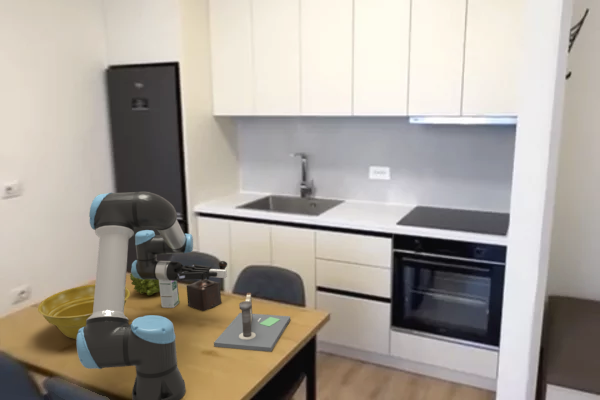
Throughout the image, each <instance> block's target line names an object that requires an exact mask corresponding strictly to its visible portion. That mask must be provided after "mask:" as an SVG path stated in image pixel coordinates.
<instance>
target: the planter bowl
mask: <svg viewBox="0 0 600 400" xmlns="http://www.w3.org/2000/svg"><path fill="white" fill-rule="evenodd" d="M94 294H95V284H93V283H92V284H87V285H81V286H77V287H73V288H72V287H71V288H69V289H65V290H61V291H59V292H57V293H54V294H52V295H50V296H49V297H46V298H45V299H44V300H42V301H41V302H40V303H39V304H38V306H37V312H38V313H39V314H40V315H42V316H43V318H44V319H45V320H46V321H47V322H48V323H49V324H50V325H53V326H56V328H57V329H58V330H59V331H60V332H61V333H62V334H63V335H64V336H66V337H68V338H70V339H73V340H77V334H78V331H79V329H80V328H82V327H86V320H87V319H88V318H89V317H90V316H91V315H92V314H93V305H94ZM130 295H131V292H130V290H129V288H127V287H125V300H124V306H125V304H126V302H127V300H128V299H129V297H130Z"/></svg>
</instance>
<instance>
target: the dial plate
mask: <svg viewBox="0 0 600 400" xmlns="http://www.w3.org/2000/svg"><path fill="white" fill-rule="evenodd" d="M290 321H291V316H290V315H276V314H264V313H263V314H262V313H252V322H251V336H250V337H244V336H243V325H242V312H239V313H238V315H236V317H235V318H234V319H233V320H232V321H231V322H230V324H228V326H227V327H226V328H225V329H224V330H223V332H221V334H220V335H219V336H218V337H217V338H216V339H215V341H213V347H215V348H224V349H225V348H226V349H236V350H238V349H239V350H249V351H259V352H272V351H273V349H274V348H275V346H276V345H277V344H278V343H277V342H278V341H279V339H280V338H281V336H282V335H283V332H284V331H285V330H286V328H287V326H288V325H289V323H290Z"/></svg>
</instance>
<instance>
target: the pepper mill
mask: <svg viewBox="0 0 600 400" xmlns="http://www.w3.org/2000/svg"><path fill="white" fill-rule="evenodd" d="M217 266H218V267H219V270H226V267H228V262H227V261H225V260H220V261H219V262H218V264H217ZM186 295H187V297H186V298H187V306H188V307H190V308H192V309H196V310H198V311H201V312H206V311H208V310H211V309H213V308H215V307H217V306H219V305H221V304H222V303H223V302H222V298H221V296H222V293H221V283H220V282H217V281H213V280H210V279H207V278H206V279H198V280H197V281H195V282H192V283H189V284H187V285H186Z"/></svg>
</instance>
